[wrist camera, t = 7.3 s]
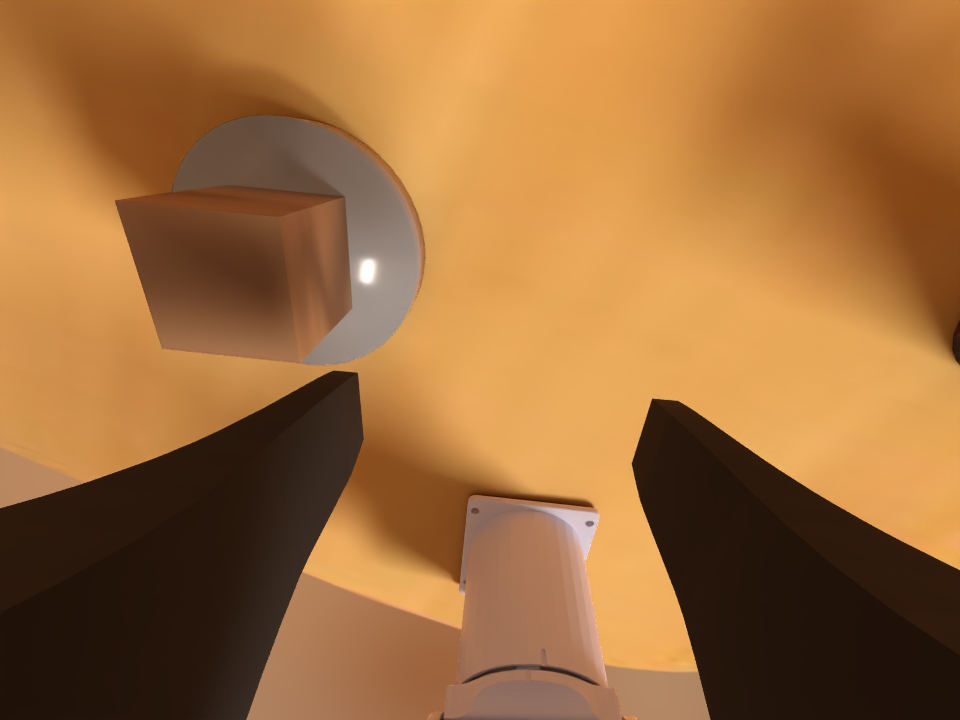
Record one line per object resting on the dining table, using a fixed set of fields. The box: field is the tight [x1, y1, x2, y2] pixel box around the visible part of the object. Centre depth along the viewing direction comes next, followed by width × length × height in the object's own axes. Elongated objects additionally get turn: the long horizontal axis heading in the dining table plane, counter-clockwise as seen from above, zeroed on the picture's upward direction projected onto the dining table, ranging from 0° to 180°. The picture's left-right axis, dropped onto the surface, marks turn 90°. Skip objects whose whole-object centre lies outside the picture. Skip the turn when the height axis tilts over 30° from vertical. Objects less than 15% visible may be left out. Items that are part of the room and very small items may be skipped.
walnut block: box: [115, 185, 352, 363], centre depth 14 cm, size 4×4×5 cm
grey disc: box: [172, 115, 425, 365], centre depth 17 cm, size 10×10×2 cm
